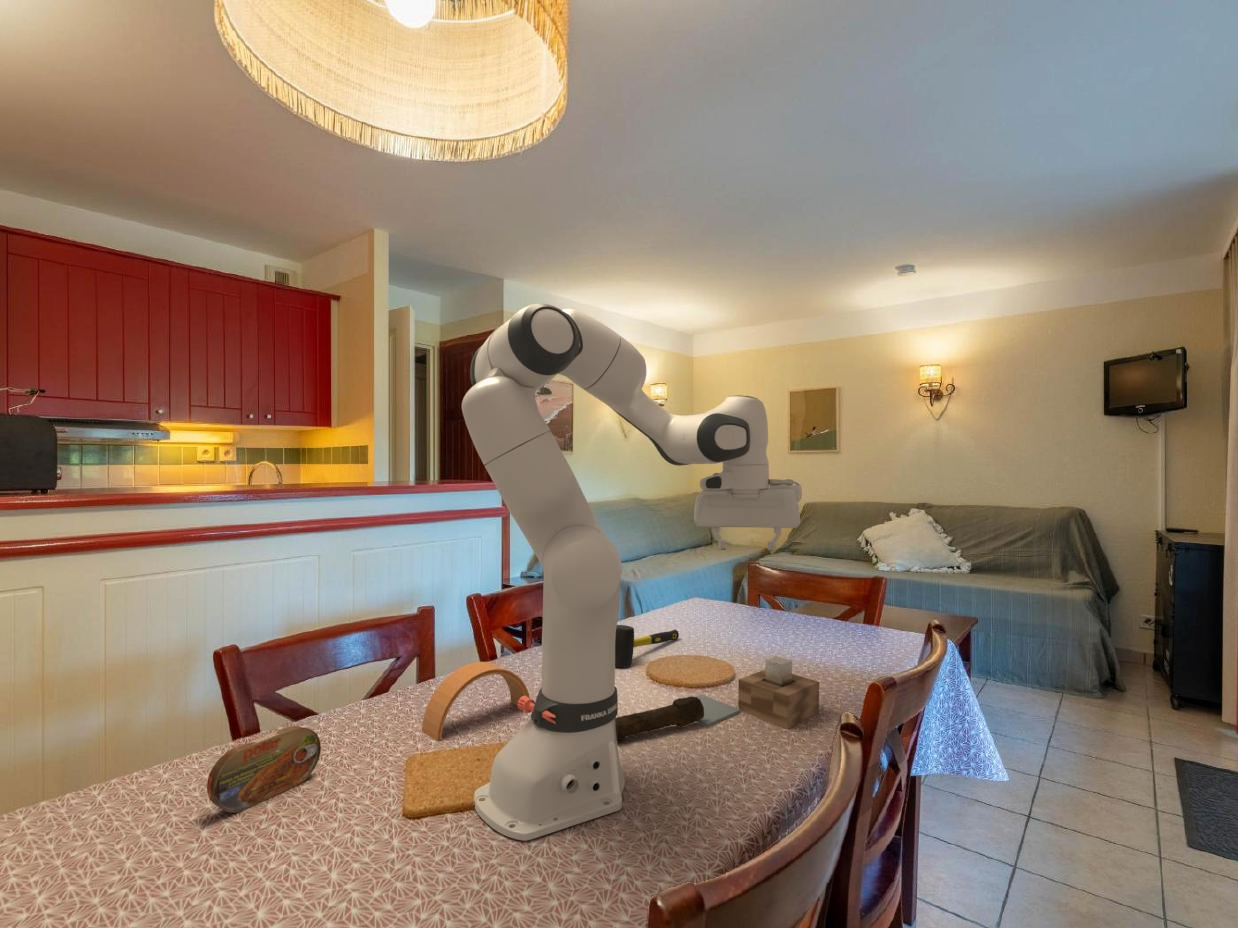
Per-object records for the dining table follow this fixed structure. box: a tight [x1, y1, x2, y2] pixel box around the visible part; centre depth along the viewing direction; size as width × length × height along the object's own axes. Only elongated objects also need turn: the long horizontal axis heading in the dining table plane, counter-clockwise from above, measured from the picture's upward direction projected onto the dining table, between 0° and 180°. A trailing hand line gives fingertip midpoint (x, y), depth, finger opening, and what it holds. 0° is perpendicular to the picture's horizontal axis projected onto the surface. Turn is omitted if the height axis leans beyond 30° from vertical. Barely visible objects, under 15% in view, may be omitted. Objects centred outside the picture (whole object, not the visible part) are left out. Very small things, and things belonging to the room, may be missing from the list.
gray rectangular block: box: [765, 655, 793, 687], centre depth 117 cm, size 4×4×8 cm
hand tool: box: [615, 696, 704, 742], centre depth 108 cm, size 19×4×5 cm, turn 112°
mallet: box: [615, 624, 680, 668], centre depth 152 cm, size 29×6×10 cm, turn 144°
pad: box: [695, 694, 742, 728], centre depth 117 cm, size 10×10×1 cm
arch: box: [421, 661, 531, 742], centre depth 112 cm, size 6×20×10 cm, turn 134°
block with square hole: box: [737, 668, 820, 730], centre depth 117 cm, size 11×11×6 cm
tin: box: [206, 725, 322, 814], centre depth 87 cm, size 15×3×8 cm, turn 148°
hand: (746, 550), depth 117 cm, fingers open, 8 cm apart
